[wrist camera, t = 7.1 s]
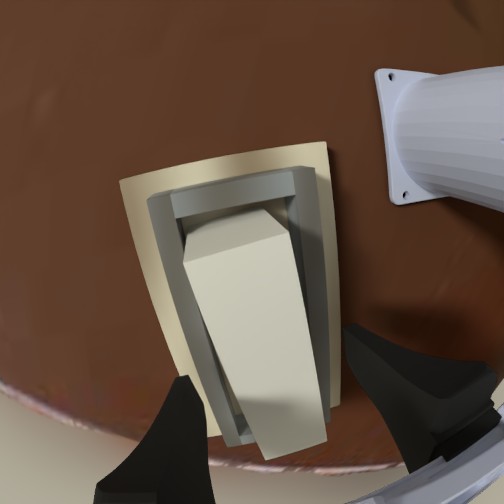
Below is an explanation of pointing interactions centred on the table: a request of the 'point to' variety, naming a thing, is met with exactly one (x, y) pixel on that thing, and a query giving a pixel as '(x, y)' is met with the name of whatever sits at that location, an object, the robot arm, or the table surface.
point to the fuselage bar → (258, 325)
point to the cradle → (220, 204)
